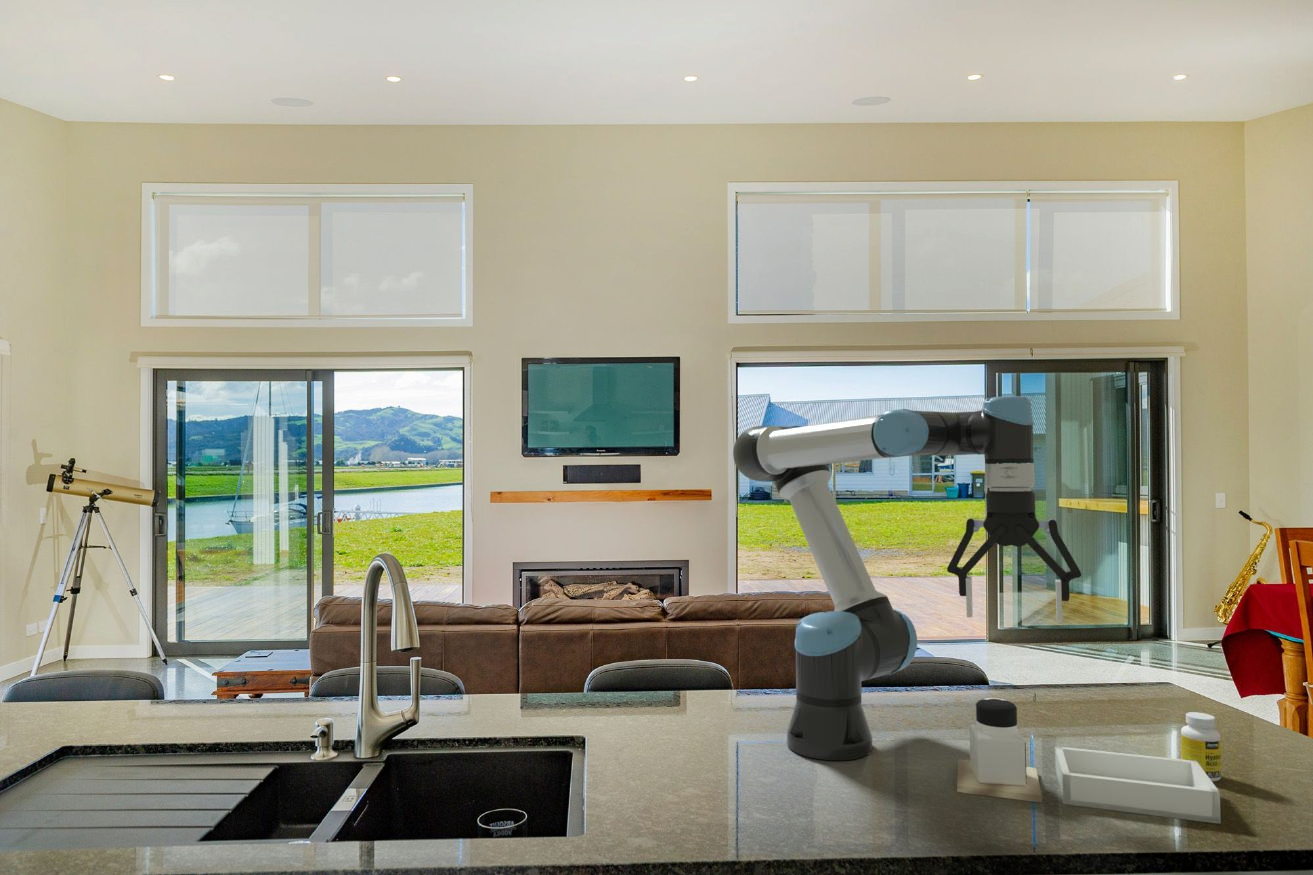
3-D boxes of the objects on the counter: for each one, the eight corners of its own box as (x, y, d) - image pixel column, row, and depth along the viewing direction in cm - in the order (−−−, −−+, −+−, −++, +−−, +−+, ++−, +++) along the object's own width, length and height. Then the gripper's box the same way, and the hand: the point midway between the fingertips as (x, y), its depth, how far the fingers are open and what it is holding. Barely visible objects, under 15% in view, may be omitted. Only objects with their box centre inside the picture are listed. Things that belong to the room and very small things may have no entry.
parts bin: (1063, 803, 124) (1062, 774, 124) (1055, 773, 136) (1054, 746, 136) (1220, 823, 117) (1219, 792, 117) (1197, 789, 129) (1196, 760, 129)
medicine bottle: (1027, 786, 128) (1025, 708, 128) (978, 783, 129) (977, 706, 129) (1015, 769, 135) (1014, 695, 135) (969, 767, 136) (968, 693, 136)
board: (957, 791, 129) (957, 785, 129) (958, 765, 140) (958, 759, 140) (1041, 802, 124) (1041, 795, 124) (1036, 774, 136) (1036, 767, 136)
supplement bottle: (1209, 785, 130) (1207, 722, 131) (1174, 773, 135) (1172, 713, 135) (1228, 778, 133) (1227, 717, 133) (1193, 767, 138) (1192, 708, 138)
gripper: (928, 490, 139) (932, 617, 138) (1096, 490, 128) (1101, 627, 128) (933, 489, 145) (936, 610, 145) (1093, 488, 135) (1097, 619, 134)
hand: (1013, 618), depth 136 cm, fingers open, 13 cm apart
